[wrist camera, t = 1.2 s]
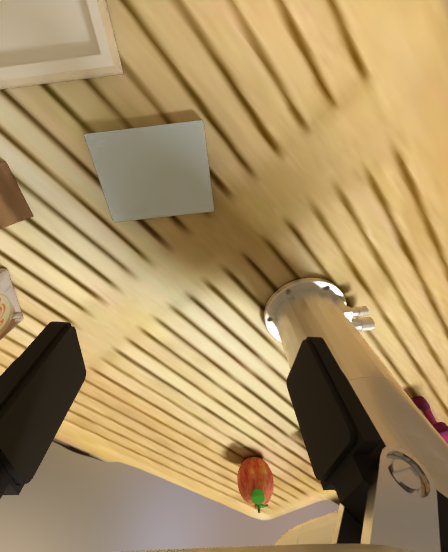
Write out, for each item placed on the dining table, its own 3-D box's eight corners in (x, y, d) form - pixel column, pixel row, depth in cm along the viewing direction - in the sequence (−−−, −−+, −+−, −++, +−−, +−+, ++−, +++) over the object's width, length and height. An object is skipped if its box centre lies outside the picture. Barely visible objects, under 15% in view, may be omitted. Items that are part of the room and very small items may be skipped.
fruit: (237, 469, 62) (240, 521, 54) (235, 451, 58) (238, 505, 49) (269, 466, 62) (277, 518, 53) (269, 448, 58) (279, 502, 49)
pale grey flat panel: (203, 121, 25) (202, 119, 23) (214, 207, 29) (213, 211, 27) (92, 135, 25) (83, 134, 23) (119, 217, 29) (113, 222, 28)
